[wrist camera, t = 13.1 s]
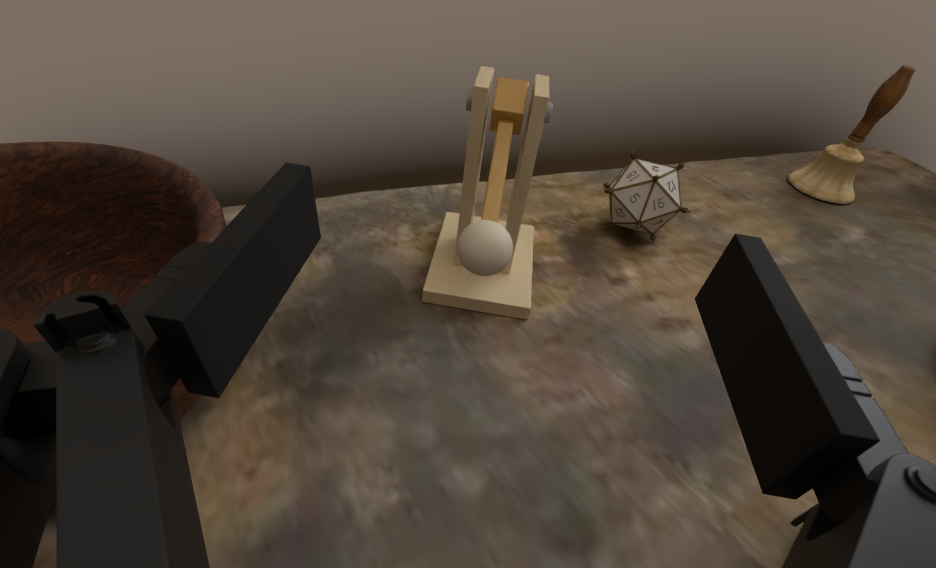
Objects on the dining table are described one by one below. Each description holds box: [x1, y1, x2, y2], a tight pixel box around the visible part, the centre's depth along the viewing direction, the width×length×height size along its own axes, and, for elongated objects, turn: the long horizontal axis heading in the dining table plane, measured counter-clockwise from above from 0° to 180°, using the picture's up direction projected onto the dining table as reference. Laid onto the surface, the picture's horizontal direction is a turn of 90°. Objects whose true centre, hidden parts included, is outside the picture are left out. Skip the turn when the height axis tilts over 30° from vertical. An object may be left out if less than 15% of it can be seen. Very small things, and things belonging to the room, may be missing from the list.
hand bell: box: [788, 65, 915, 204], centre depth 57 cm, size 8×8×16 cm
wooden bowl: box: [0, 142, 226, 505], centre depth 26 cm, size 25×25×10 cm
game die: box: [603, 150, 689, 242], centre depth 47 cm, size 9×8×10 cm
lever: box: [457, 77, 529, 276], centre depth 30 cm, size 14×4×4 cm
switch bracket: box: [422, 66, 553, 320], centre depth 37 cm, size 12×9×17 cm
